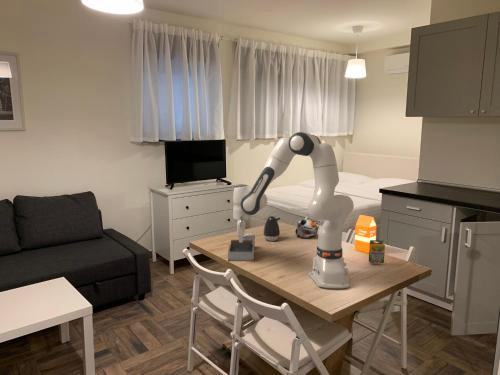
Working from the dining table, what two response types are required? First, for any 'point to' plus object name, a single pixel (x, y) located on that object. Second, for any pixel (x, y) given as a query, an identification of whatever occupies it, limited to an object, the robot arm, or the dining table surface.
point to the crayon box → (376, 251)
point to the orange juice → (364, 233)
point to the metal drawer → (241, 251)
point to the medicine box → (250, 238)
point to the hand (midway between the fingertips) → (241, 239)
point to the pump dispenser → (271, 229)
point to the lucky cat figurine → (306, 228)
